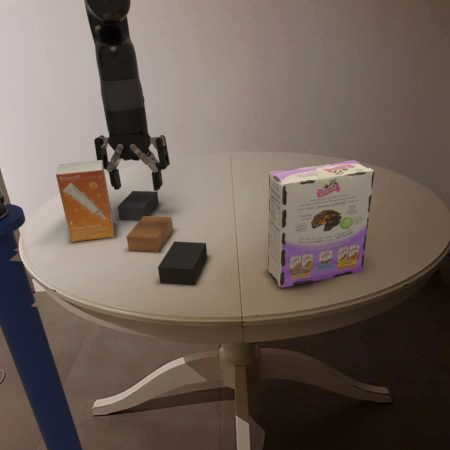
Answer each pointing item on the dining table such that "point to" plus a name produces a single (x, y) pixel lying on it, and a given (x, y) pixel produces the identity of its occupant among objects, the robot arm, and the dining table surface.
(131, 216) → the grey pad
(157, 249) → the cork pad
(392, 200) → the dining table surface
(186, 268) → the black pad
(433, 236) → the dining table surface
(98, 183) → the small box
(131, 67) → the robot arm
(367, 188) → the candy box
